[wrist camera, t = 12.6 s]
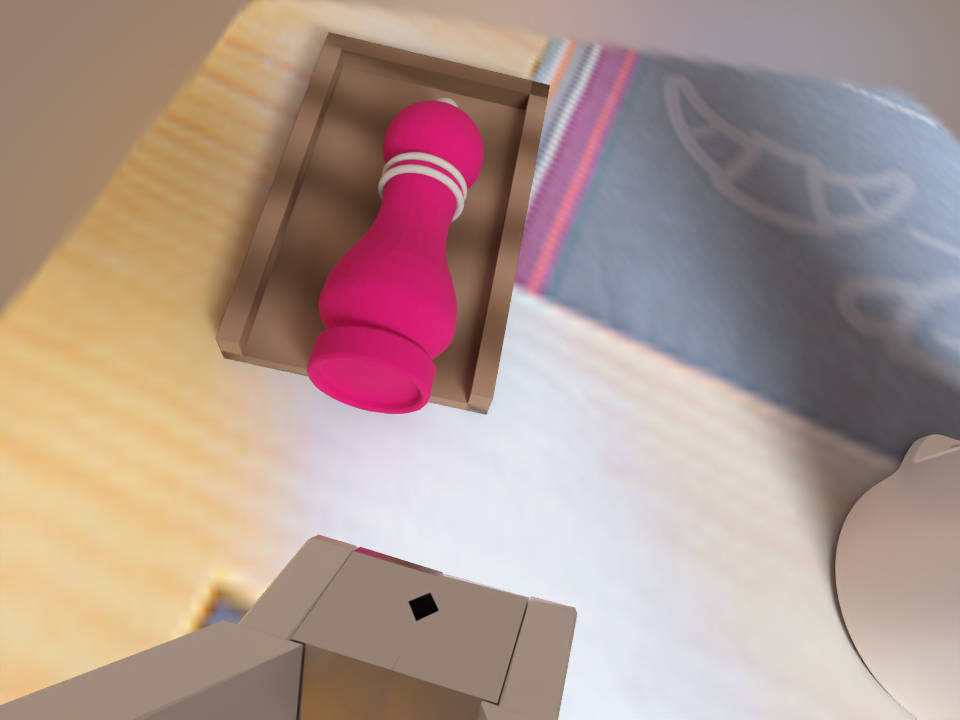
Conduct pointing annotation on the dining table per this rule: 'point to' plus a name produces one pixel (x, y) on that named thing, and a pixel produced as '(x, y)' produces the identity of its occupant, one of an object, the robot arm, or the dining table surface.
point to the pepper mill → (400, 268)
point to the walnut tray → (356, 203)
